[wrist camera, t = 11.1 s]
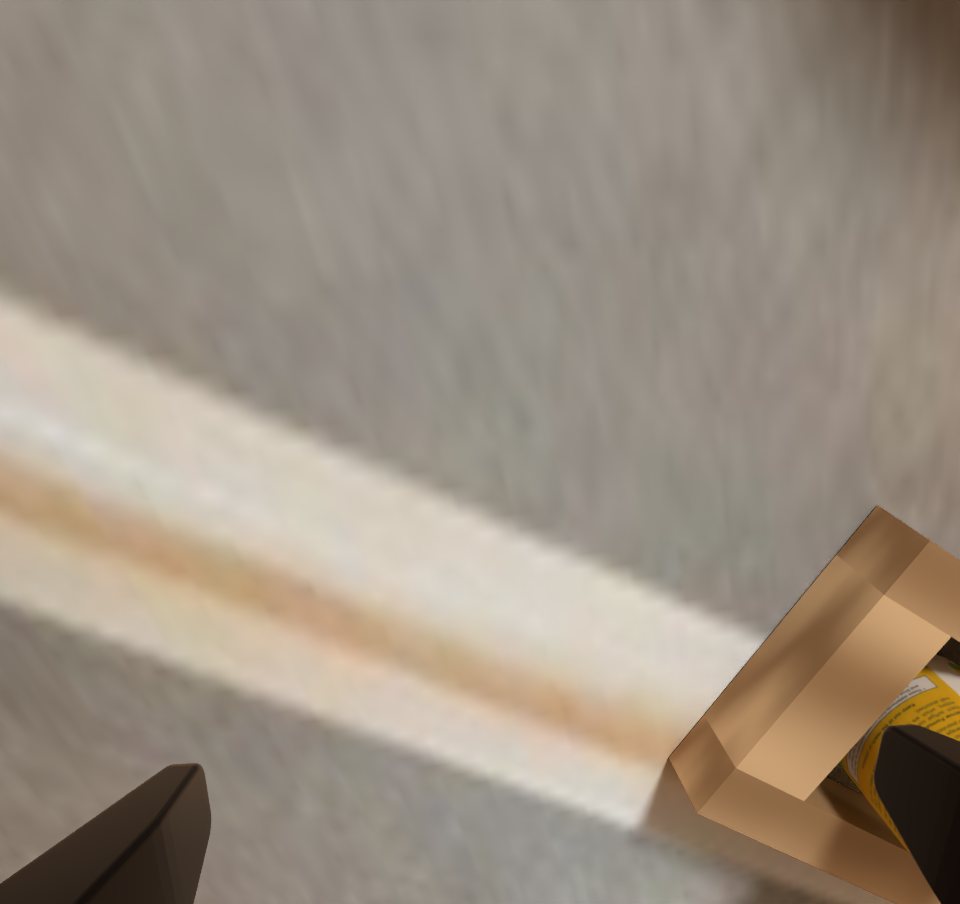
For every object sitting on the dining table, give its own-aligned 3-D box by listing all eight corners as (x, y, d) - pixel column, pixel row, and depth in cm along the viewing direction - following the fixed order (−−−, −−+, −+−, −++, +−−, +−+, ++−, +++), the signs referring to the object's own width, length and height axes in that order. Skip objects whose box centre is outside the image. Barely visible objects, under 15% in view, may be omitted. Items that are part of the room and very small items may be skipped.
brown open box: (918, 876, 31) (963, 934, 29) (668, 757, 27) (696, 813, 25) (1120, 667, 28) (1187, 713, 26) (877, 505, 25) (930, 541, 22)
